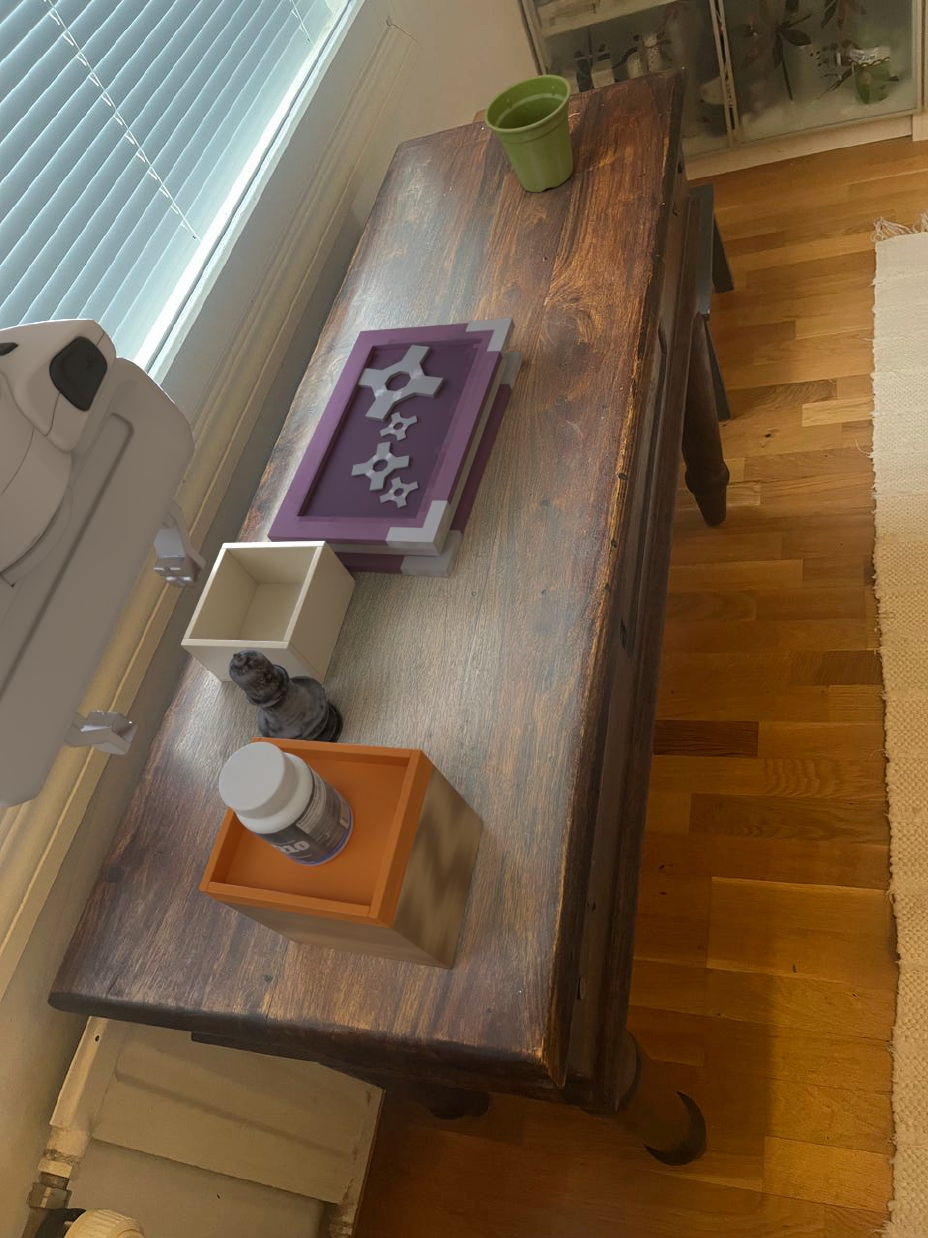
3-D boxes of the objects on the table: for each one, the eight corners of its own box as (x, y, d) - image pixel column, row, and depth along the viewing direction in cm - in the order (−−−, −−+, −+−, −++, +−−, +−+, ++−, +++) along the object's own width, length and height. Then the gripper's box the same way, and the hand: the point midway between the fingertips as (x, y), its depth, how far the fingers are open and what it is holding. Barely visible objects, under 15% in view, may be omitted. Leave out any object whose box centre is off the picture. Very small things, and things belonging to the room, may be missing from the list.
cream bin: (322, 686, 76) (286, 648, 71) (220, 680, 80) (180, 645, 75) (356, 582, 81) (325, 540, 76) (258, 582, 85) (223, 542, 80)
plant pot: (605, 155, 103) (588, 77, 96) (554, 209, 100) (533, 134, 94) (541, 144, 108) (520, 71, 101) (491, 196, 106) (467, 124, 99)
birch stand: (451, 970, 60) (392, 928, 52) (293, 942, 64) (216, 900, 57) (483, 821, 65) (433, 763, 57) (334, 805, 69) (268, 750, 61)
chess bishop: (317, 775, 71) (237, 703, 62) (265, 746, 74) (181, 674, 65) (359, 712, 73) (288, 633, 64) (307, 686, 76) (231, 608, 67)
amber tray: (392, 928, 52) (377, 918, 50) (216, 900, 57) (197, 890, 55) (433, 763, 57) (421, 749, 55) (268, 750, 61) (253, 736, 60)
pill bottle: (272, 856, 56) (196, 804, 50) (305, 785, 58) (236, 726, 52) (336, 877, 54) (265, 826, 47) (368, 803, 56) (304, 744, 49)
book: (453, 577, 77) (432, 542, 73) (292, 569, 84) (265, 536, 80) (526, 358, 89) (512, 317, 85) (380, 366, 96) (360, 329, 92)
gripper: (-138, 734, 30) (127, 864, 41) (112, 291, 39) (272, 493, 50) (-259, 721, 32) (22, 847, 43) (4, 308, 42) (179, 497, 53)
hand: (158, 654), depth 47 cm, fingers open, 8 cm apart
